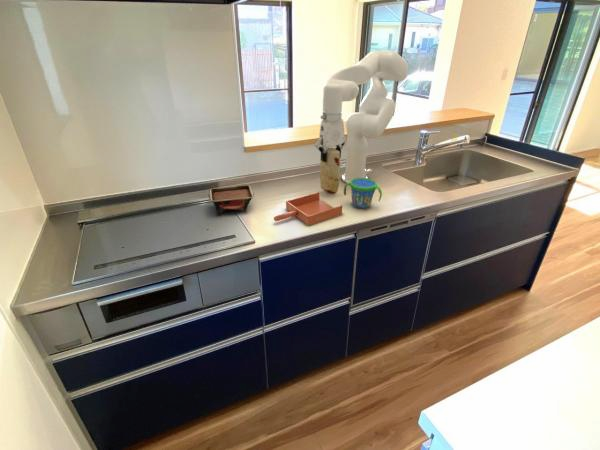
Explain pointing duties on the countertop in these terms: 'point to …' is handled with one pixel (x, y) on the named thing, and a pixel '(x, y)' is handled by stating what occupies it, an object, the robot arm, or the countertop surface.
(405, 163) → the countertop surface
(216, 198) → the baking dish
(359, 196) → the snack cup
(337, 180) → the food model
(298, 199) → the scoop
